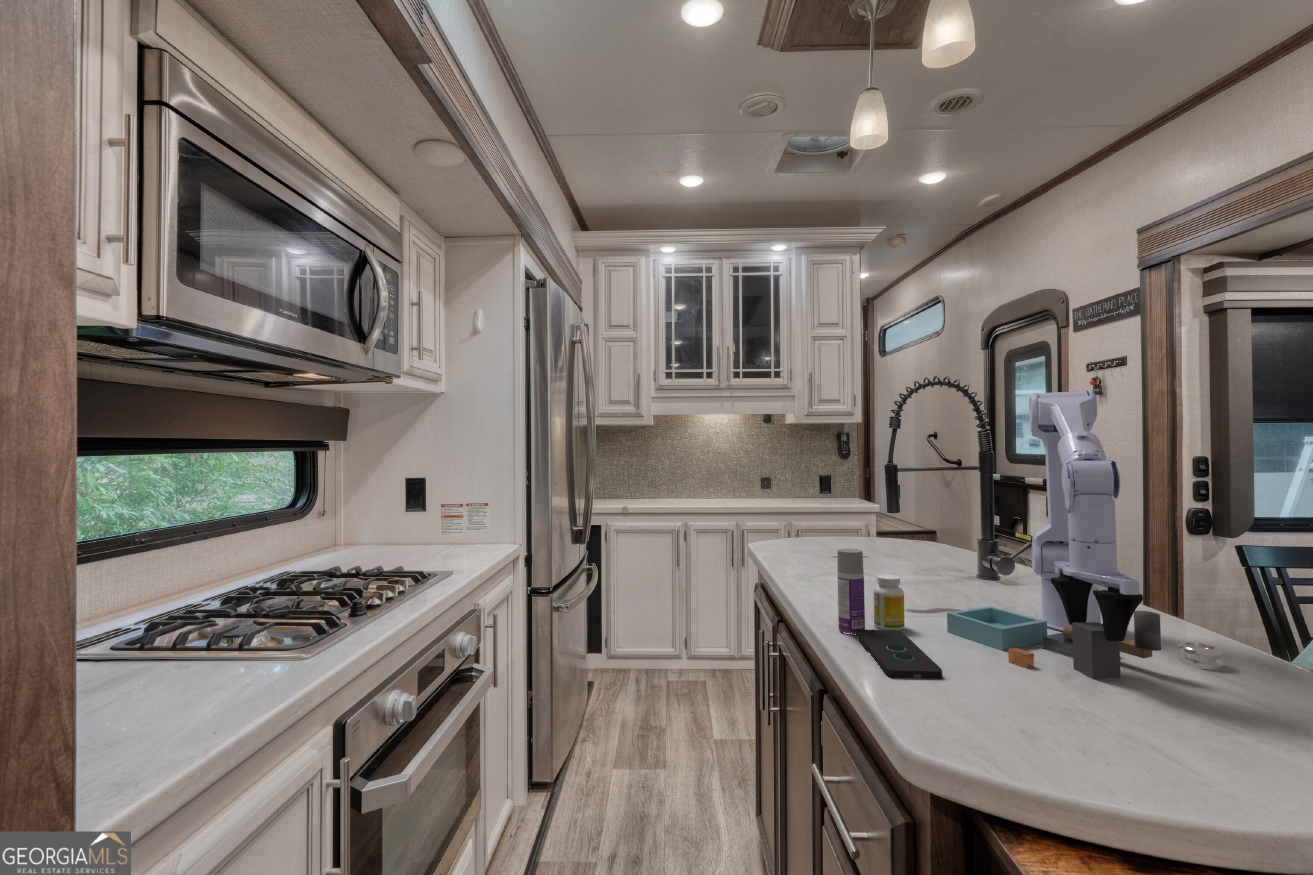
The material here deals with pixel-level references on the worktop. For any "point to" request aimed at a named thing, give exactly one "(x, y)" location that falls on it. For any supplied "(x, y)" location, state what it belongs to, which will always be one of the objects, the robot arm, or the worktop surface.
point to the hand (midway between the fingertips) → (1095, 632)
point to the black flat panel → (898, 655)
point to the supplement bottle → (888, 603)
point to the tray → (997, 627)
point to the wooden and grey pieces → (1049, 642)
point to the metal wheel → (1200, 655)
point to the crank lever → (1137, 635)
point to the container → (851, 590)
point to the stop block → (1095, 652)
